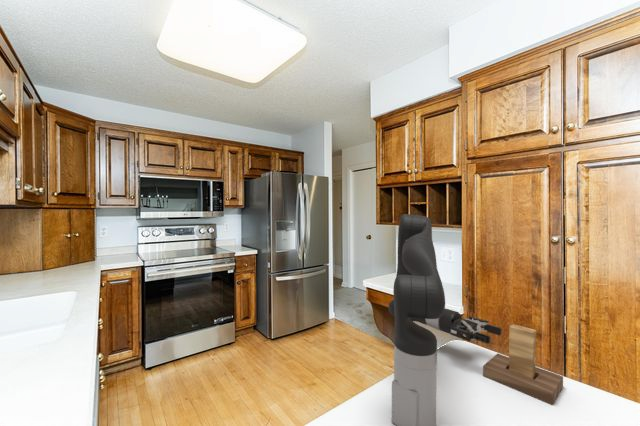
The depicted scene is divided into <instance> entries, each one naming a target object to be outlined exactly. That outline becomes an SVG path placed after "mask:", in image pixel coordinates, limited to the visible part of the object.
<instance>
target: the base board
mask: <svg viewBox="0 0 640 426" xmlns="http://www.w3.org/2000/svg"><path fill="white" fill-rule="evenodd" d="M482 376H483V377H485V378H486V379H489V380H491V381H494V382H497V383H499V384H502V385H503V386H506V387H508V388H511V389H512V390H516V391H518V392H521V393H523V394H525V395H527V396H530V397H532V398H534V399H537V400H538V401H541V402H544V403H546V404H549V405H551V406H553V405H554V404H555V402H556V401H557V400H558V399H557V398H558V397H559V395H560V394H561V392H562V391H563V388H564V376H563V375H561V374H557V373H555V372H551V371H550V370H549V371H548V370H547V369H544V368H540V367H537V366H535V380H534V379H532V378H529V377H526V376H524V375H521V374H518V373H516V372H513V371H511V370H509V356H505V355H503V354H500V353H498V352H497V353H496V354H495V355H494V356H492V357H491V358H490V359H489V360H488V361H486V362H485V364H483V365H482Z"/></svg>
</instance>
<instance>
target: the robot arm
mask: <svg viewBox="0 0 640 426" xmlns="http://www.w3.org/2000/svg"><path fill="white" fill-rule="evenodd" d="M435 249H436V248H435V246H434V241H433V226H432V221H431V219H430V218H429V217H427V216H425V215H416V214H409V213H408V214H406V213H403V214H402V215H401V216H400V219H399V223H398V231H397V265H396V266H397V269H396V275H395V276H396V277H395V279H394V282H393V299H392V300H391V301H390V302H389V304H388V311H389V313H390V314H391V316H393V317H394V339H393V340H394V342H393V344H394V347H393V348H394V351H393V353H394V355H393V380H392V381H391V423H393V424H394V425H395V426H437V382H438V381H437V377H438V376H437V375H438V374H437V371H438V370H437V369H438V368H437V367H438V363H437V362H438V339H437V336H436V335H435V334H434V333H433V332H432V331H431V330H429V329H427V328H426V327H424V326H421V325H419V324H418V323H420V324H423V325H426V326H429V327H431V328H433V329H435V330H438V331H441V332H442V333H443V332H444V333H446V334H449V335H451V336H453V337H456V338H459V339H461V340H464V341H467V342H471V341H478V342H481V343H485V344H486V345H489V344H490V343H491V336H490V335H488V334H485V333H482V332H487V333H490V334H493V335H497V336H501V335H503V334H502V331H503V330H502V328H501V327H499V326H496V325H492V324H489V321H488V320H486V319H482V318H480V317H479V318H478V317H475V316H471V315H470V316H468V318H463V317H462V315H461V313H460V312H459V311H456V310H453V309H449V308H446V295H445V290H444V286H443V282H442V280H441V276H440V273H439V271H438V265H437V264H438V263H437V255H436V250H435ZM416 322H417V323H416Z"/></svg>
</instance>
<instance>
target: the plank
mask: <svg viewBox="0 0 640 426" xmlns="http://www.w3.org/2000/svg"><path fill="white" fill-rule="evenodd" d="M508 338H509V339H508V340H509V341H508V342H509V343H508V344H509V345H508V347H509V348H508V357H509V370H511V371H513V372H516V373H518V374H521V375H524V376H526V377H529V378H532V379H534V380H535V367H536V362H537V361H536V360H537V359H536V357H537V353H536V352H537V351H536V349H537V330H536V329H534V328H529V327H526V326H522V325H518V324H511V325H510V326H509V337H508Z"/></svg>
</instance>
